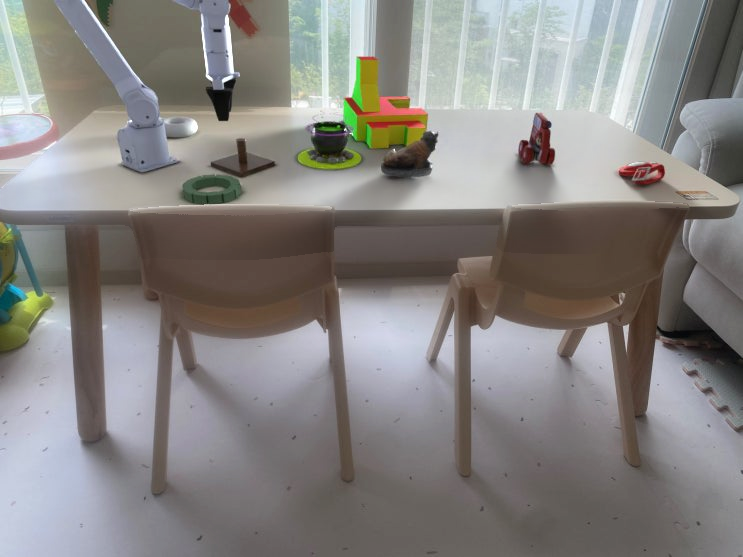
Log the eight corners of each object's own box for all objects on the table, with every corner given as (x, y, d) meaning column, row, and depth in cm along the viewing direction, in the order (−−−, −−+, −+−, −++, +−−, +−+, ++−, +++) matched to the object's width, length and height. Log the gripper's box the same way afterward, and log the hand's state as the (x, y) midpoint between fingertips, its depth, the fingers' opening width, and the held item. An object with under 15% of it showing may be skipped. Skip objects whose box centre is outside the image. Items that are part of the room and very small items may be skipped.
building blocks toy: (361, 148, 132) (363, 71, 123) (343, 120, 153) (344, 53, 143) (432, 146, 136) (440, 71, 127) (405, 119, 157) (410, 53, 147)
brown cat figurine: (380, 180, 115) (382, 134, 110) (380, 168, 121) (382, 124, 116) (435, 182, 115) (440, 136, 110) (432, 171, 121) (437, 127, 116)
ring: (250, 197, 105) (249, 188, 104) (194, 209, 99) (193, 200, 98) (228, 178, 112) (227, 170, 111) (175, 188, 107) (173, 180, 106)
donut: (189, 141, 133) (204, 129, 141) (187, 127, 131) (202, 116, 139) (151, 138, 133) (168, 126, 142) (148, 124, 132) (165, 113, 140)
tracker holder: (609, 165, 126) (651, 155, 125) (611, 183, 127) (652, 173, 127) (636, 171, 114) (682, 161, 114) (637, 191, 116) (682, 181, 115)
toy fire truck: (525, 168, 125) (534, 124, 119) (515, 151, 135) (523, 110, 130) (555, 170, 125) (565, 125, 119) (543, 152, 135) (552, 111, 130)
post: (241, 177, 113) (238, 150, 110) (210, 166, 118) (207, 139, 115) (275, 165, 120) (273, 139, 117) (244, 155, 125) (242, 130, 122)
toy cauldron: (372, 156, 128) (374, 109, 122) (338, 174, 117) (338, 124, 111) (321, 144, 134) (321, 99, 128) (284, 160, 123) (282, 112, 117)
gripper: (235, 57, 106) (241, 125, 113) (239, 45, 118) (244, 107, 126) (198, 56, 105) (207, 125, 112) (206, 45, 117) (214, 107, 125)
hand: (224, 116), depth 119 cm, fingers open, 7 cm apart
